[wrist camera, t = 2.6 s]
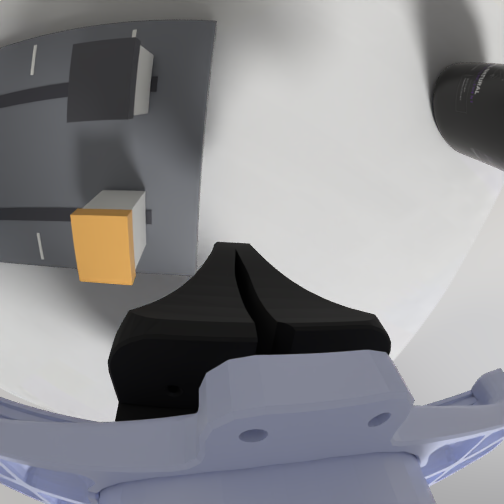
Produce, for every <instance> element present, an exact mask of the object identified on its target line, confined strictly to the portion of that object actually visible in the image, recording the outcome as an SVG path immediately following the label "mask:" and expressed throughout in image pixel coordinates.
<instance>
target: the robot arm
mask: <svg viewBox="0 0 504 504" xmlns="http://www.w3.org/2000/svg"><path fill="white" fill-rule="evenodd" d="M390 350H391V341H390V338H389V336H388V334H387V332H386V331H385V329H384V327H383V326H382V324H381V323H380V321H379V320H378V318H377V317H376V315H374V314H371V313H367V312H363V311H359V310H355V309H351V308H348V307H345V306H342V305H339V304H336V303H334V302H331V301H329V300H326V299H324V298H322V297H320V296H318V295H316V294H314V293H311V292H309V291H308V290H306V289H304V288H302V287H301V286H299V285H298V284H296V283H294V282H293V281H291V280H290V279H288V278H287V277H286V276H284V275H283V274H282V273H280V272H279V271H278V270H277V269H275V268H274V267H273V266H272V265H271V264H270V263H269V262H267V261H266V260H265V259H264V258H263V257H262V256H261V255H260V254H259V253H258V252H257V251H256V250H255V249H254V248H253V247H252V246H251V245H250V244H246V243H227V242H217V243H215V244H214V248H213V250H212V252H211V254H210V255H209V257H208V258H207V260H206V261H205V263H204V264H203V265H202V267H201V268H200V269H199V270H198V271H197V272H196V274H195V275H194V276H193V277H192V278H191V279H190V280H189V281H187V282H186V283H185V284H184V285H183V286H181V287H180V288H179V289H177V290H176V291H174V292H173V293H171V294H169V295H167V296H166V297H164V298H162V299H160V300H157V301H155V302H153V303H151V304H148V305H145V306H142V307H139V308H136V309H133V310H130V311H129V312H128V313H127V315H126V317H125V318H124V320H123V322H122V324H121V326H120V328H119V329H118V331H117V334H116V336H115V338H114V342H113V345H112V348H111V352H110V355H109V359H108V369H109V374H110V377H111V380H112V383H113V386H114V389H115V392H116V395H117V398H118V401H119V404H118V409H117V414H116V419H115V422H96V421H90V420H85V419H80V418H75V417H70V416H66V415H62V414H57V413H53V412H49V411H45V410H41V409H37V408H34V407H30V406H27V405H23V404H20V403H17V402H14V401H11V400H8V399H5V398H2V397H0V483H1V484H3V485H6V486H7V487H9V488H11V489H13V490H16V491H18V492H20V493H22V494H24V495H26V496H29V497H31V498H33V499H36V500H38V501H40V502H43V503H45V504H436V503H435V500H434V498H433V495H432V493H431V491H430V488H429V486H431V485H433V484H435V483H437V482H438V481H440V480H442V479H444V478H446V477H448V476H450V475H452V474H453V473H455V472H457V471H459V470H460V469H462V468H464V467H465V466H467V465H469V464H471V463H472V462H474V461H476V460H477V459H479V458H481V457H482V456H484V455H486V454H487V453H489V452H491V451H492V450H493V449H495V448H496V447H497V446H498V445H499V444H500V443H501V442H502V441H503V440H504V372H503V371H502V369H496V370H494V371H491V372H488V373H485V374H484V375H482V376H481V377H480V378H479V379H478V380H477V381H476V382H475V384H474V385H473V387H472V389H471V390H470V391H467V392H464V393H461V394H459V395H456V396H453V397H450V398H446V399H443V400H440V401H437V402H433V403H430V404H427V405H423V406H418V405H416V406H415V405H413V403H414V401H415V400H414V398H413V396H412V394H411V392H410V390H409V389H408V387H407V385H406V383H405V382H404V380H403V378H402V377H401V375H400V373H399V371H398V369H397V368H396V366H395V364H394V362H393V361H392V360H391V358H390V357H389V353H390Z"/></svg>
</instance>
